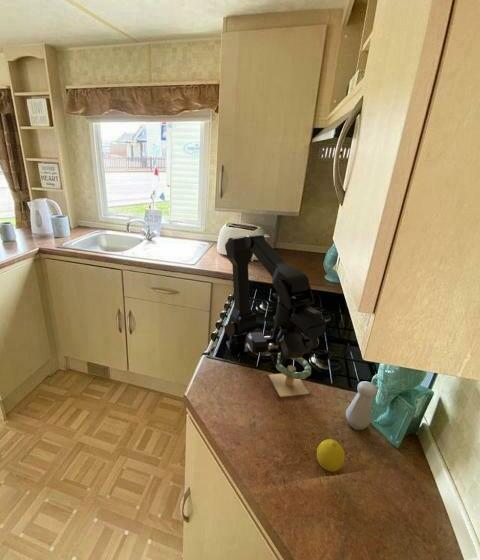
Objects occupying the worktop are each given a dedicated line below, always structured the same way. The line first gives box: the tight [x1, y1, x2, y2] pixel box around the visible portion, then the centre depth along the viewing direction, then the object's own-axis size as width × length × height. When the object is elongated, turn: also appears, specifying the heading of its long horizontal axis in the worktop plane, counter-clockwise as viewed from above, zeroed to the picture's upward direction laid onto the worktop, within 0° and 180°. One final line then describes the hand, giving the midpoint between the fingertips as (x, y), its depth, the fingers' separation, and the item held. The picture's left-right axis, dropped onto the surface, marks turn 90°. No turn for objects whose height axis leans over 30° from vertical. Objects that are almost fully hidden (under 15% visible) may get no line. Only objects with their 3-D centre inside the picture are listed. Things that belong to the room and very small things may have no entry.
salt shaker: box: [345, 380, 378, 431], centre depth 79 cm, size 6×6×13 cm
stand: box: [268, 364, 311, 398], centre depth 92 cm, size 9×9×7 cm
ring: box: [274, 351, 312, 380], centre depth 90 cm, size 11×11×2 cm
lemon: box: [316, 438, 346, 473], centre depth 69 cm, size 6×6×8 cm
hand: (277, 364), depth 89 cm, fingers closed on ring, 2 cm apart
